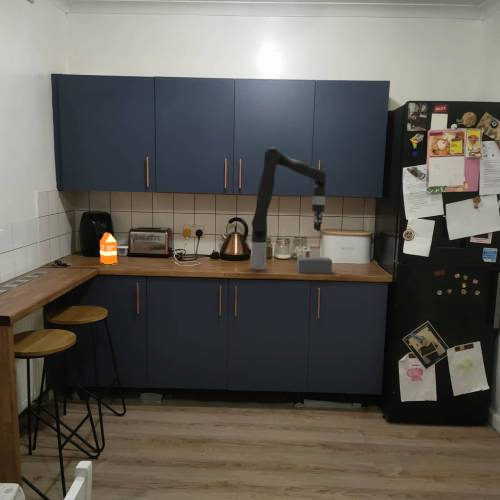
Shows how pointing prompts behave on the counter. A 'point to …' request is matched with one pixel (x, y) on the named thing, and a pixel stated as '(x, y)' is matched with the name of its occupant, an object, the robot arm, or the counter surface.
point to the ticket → (314, 252)
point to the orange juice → (108, 249)
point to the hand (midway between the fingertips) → (316, 230)
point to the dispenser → (314, 265)
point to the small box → (306, 253)
